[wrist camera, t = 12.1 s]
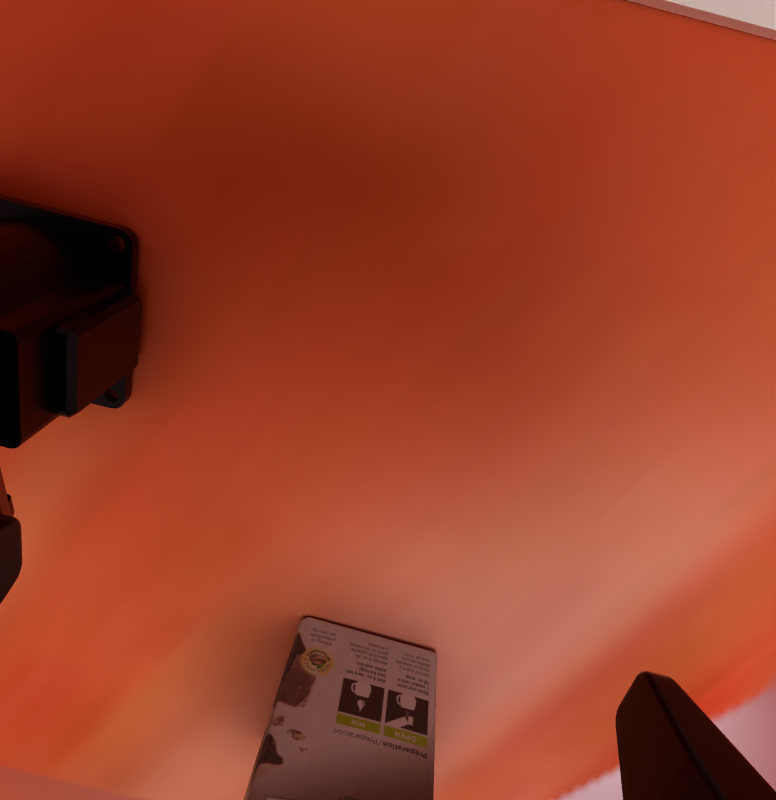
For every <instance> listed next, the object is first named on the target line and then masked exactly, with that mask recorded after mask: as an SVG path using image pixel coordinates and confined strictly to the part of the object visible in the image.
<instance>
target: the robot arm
mask: <svg viewBox="0 0 776 800" xmlns="http://www.w3.org/2000/svg"><path fill="white" fill-rule="evenodd" d="M117 236H118V237H120V238H122V239H123V241H124V242H125V249H124V250H122V249H120V248H119V247H118V246H117V244H116V237H117ZM137 264H138V239H137V237H136V236H135V234H134V233H133V232H132V231H131V230H130V229H128V228H126V227H123V226H119V225H116V224H112V223H108V222H104V221H100V220H96V219H92V218H88V217H84V216H80V215H76V214H72V213H68V212H65V211H61V210H57V209H53V208H49V207H45V206H41V205H37V204H33V203H29V202H25V201H21V200H18V199H14V198H10V197H6V196H2V195H0V446H3V447H7V448H17V447H19V446H20V445H21V444H23V443H24V442H25V441H27V440H28V439H29V438H31V437H32V436H33V435H35V434H36V433H37V432H38V431H40V430H41V429H42V428H44V427H45V426H46V425H48V424H49V423H50V422H52V421H53V420H54V419H55V418H57V417H58V416H59V415H60V416H64V417H68V418H69V417H72V416H74V415H75V414H77V413H78V412H80V411H81V410H82V409H83V408H85V407H86V406H87V405H89V404H90V403H93V404H97V405H101V406H105V407H109V408H118V407H121V406H122V405H123V404H124V403H125V402H126V401H127V400H128V399H129V397H130V389H131V371H132V370H133V369H134V368H135V367H136V366H137V364H138V351H139V335H140V318H141V299H140V298H139V296H138V294H137V293H136V282H137ZM110 389H112V390H114V391H115V392H116V393H117V394H118V398H116V397H114V396H113V395H112V394H111V393H110ZM13 515H14V508H13V504H12V499H11V496H10V495H9V494H6V489H5V485H4V481H3V477H2V473H1V468H0V604H1V602H2V601H3V599H4V598H5V596H6V595H7V593H8V592H9V590H10V589H11V587H12V586H13V584H14V583H15V581H16V579H17V578H18V575H19V573H20V570H21V566H22V540H21V524H20V522H19V520H18V519H17V518H15V517H13ZM616 734H617V744H618V753H619V763H620V773H621V783H622V793H623V800H776V791H775V790H774V789H773V788H772V787H771V786H770V785H769V784H768V782H767V781H766V780H765V779H764V778H763V777H762V776H761V775H760V774H759V773H758V772H757V771H756V769H755V768H754V767H753V766H752V765H751V764H750V763H749V762H748V761H747V759H745V757H744V756H743V755H742V754H741V753H740V752H739V751H738V750H737V748H736V747H735V746H734V745H733V744H732V743H731V742H730V741H729V740H728V739H727V738H726V736H725V735H724V734H723V733H722V732H721V731H720V730H719V729H718V728H717V727H716V725H715V724H714V723H713V722H712V721H711V720H710V719H709V718H708V717H707V715H706V714H705V713H704V712H703V711H702V710H701V709H700V708H699V707H698V706H697V704H696V703H695V702H694V701H693V700H692V699H691V698H690V697H689V696H688V695H687V694H686V692H685V691H684V690H683V689H682V688H681V687H680V686H679V685H678V684H677V683H676V682H675V681H674V680H673V679H672V678H670V677H668V676H664V675H660V674H656V673H652V672H648V671H643V672H641V673H639V674H638V675H637V677H636V678H635V680H634V682H633V683H632V685H631V687H630V688H629V690H628V692H627V693H626V695H625V697H624V698H623V700H622V702H621V703H620V705H619V707H618V710H617V714H616Z"/></svg>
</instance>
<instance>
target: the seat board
mask: <svg viewBox="0 0 776 800" xmlns="http://www.w3.org/2000/svg"><path fill="white" fill-rule="evenodd" d="M628 1H631V2H635V3H639V4H642V5H646V6H650V7H654V8H657V9H661V10H665V11H668V12H672V13H676V14H680V15H683V16H687V17H691V18H694V19H698V20H702V21H706V22H709V23H713V24H717V25H720V26H724V27H728V28H732V29H735V30H739V31H743V32H746V33H750V34H754V35H758V36H761V37H765V38H769V39H772V40H776V0H628Z"/></svg>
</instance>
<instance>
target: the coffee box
mask: <svg viewBox="0 0 776 800" xmlns="http://www.w3.org/2000/svg"><path fill="white" fill-rule="evenodd" d="M436 667H437V656H436V654H435V653H434V652H432V651H429V650H425V649H422V648H418V647H415V646H411V645H407V644H404V643H400V642H396V641H393V640H389V639H386V638H382V637H379V636H375V635H371V634H368V633H364V632H361V631H357V630H354V629H350V628H346V627H343V626H339V625H335V624H332V623H328V622H325V621H321V620H318V619H314V618H311V617H307V618H304V619H303V620H301V622H300V625H299V628H298V631H297V634H296V637H295V640H294V643H293V646H292V649H291V652H290V655H289V658H288V661H287V664H286V667H285V670H284V673H283V676H282V679H281V683H280V686H279V689H278V692H277V695H276V698H275V702H274V705H273V708H272V711H271V714H270V717H269V721H268V724H267V727H266V730H265V733H264V736H263V739H262V743H261V746H260V749H259V752H258V755H257V758H256V761H255V765H254V768H253V771H252V774H251V778H250V781H249V785H248V788H247V791H246V794H245V798H244V800H433V788H434V749H435V706H436Z"/></svg>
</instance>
